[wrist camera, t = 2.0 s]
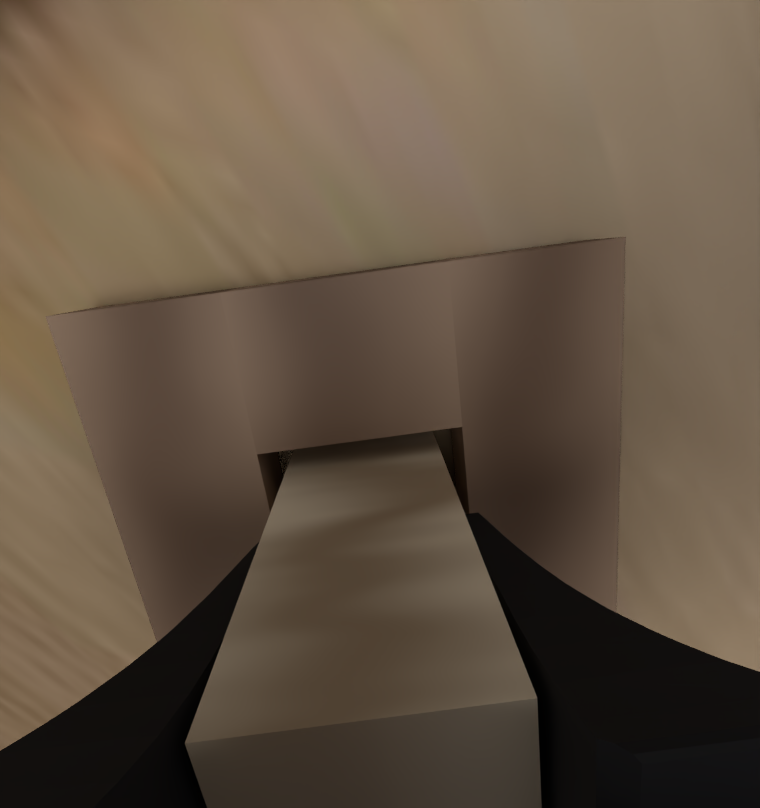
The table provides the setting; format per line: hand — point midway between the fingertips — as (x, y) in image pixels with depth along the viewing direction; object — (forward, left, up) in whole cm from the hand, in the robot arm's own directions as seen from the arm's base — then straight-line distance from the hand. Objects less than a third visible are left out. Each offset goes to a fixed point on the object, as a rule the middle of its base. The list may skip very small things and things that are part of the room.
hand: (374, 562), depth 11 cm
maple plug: (0, 0, -3) cm, 3 cm away
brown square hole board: (0, 0, -3) cm, 3 cm away
